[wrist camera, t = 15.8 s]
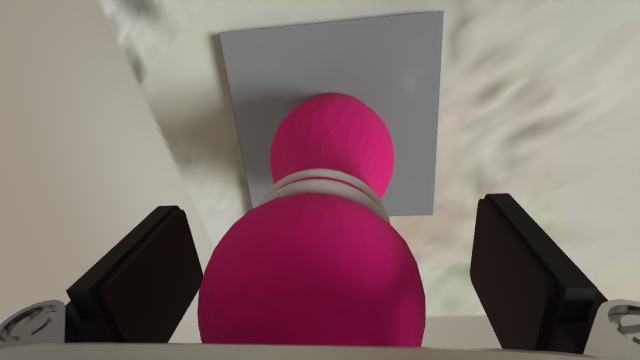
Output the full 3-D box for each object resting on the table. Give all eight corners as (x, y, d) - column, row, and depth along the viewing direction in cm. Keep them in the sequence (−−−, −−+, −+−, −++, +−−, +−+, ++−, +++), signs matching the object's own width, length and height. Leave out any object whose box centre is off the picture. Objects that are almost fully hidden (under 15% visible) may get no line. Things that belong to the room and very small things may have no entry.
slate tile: (224, 33, 22) (219, 33, 22) (439, 11, 21) (443, 10, 20) (257, 215, 28) (254, 221, 27) (429, 208, 26) (432, 214, 26)
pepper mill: (378, 187, 25) (460, 607, 7) (283, 179, 25) (113, 556, 7) (393, 89, 22) (609, 358, 4) (285, 80, 22) (3, 290, 4)
